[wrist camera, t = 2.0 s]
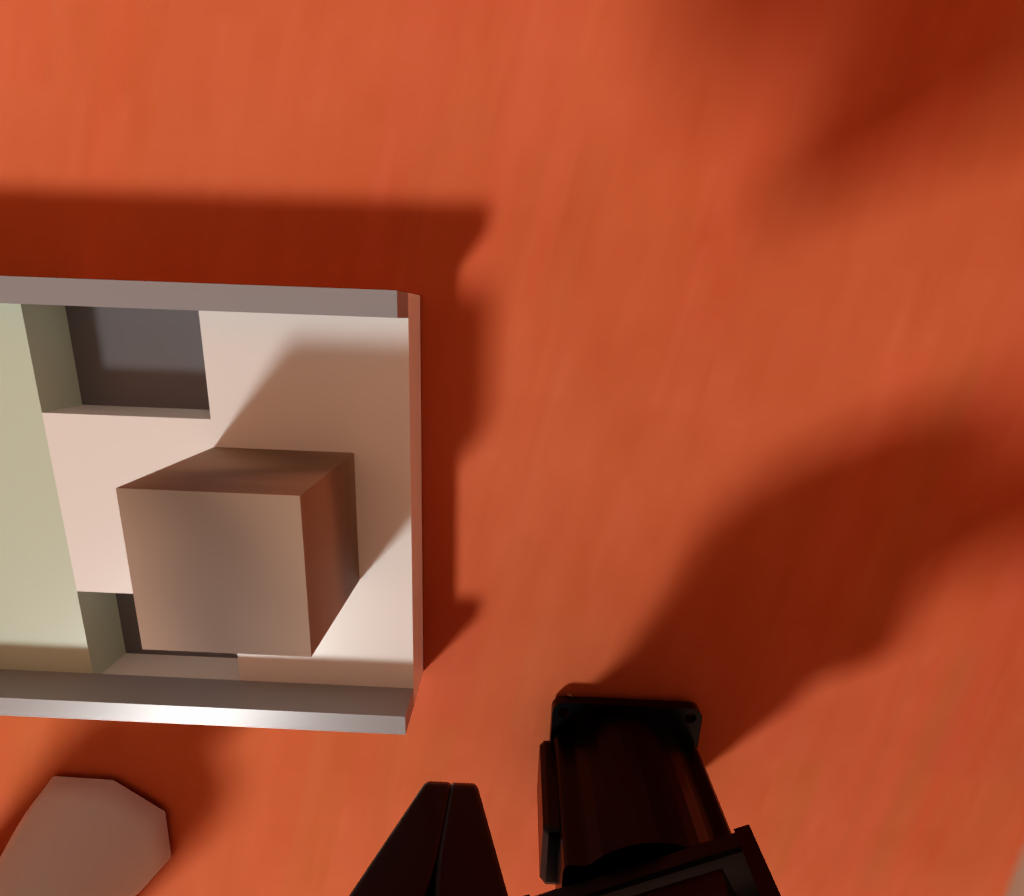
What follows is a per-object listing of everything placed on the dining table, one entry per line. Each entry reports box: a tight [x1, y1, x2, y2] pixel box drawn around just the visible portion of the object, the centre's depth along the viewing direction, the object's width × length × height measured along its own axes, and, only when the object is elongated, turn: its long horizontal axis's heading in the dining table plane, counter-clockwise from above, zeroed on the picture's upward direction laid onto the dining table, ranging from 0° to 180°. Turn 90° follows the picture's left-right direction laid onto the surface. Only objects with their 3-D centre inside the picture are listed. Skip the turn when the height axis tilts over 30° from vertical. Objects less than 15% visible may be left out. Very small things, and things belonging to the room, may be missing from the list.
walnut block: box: [116, 447, 359, 657], centre depth 17 cm, size 5×5×4 cm
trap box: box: [0, 276, 423, 735], centre depth 19 cm, size 20×16×4 cm
